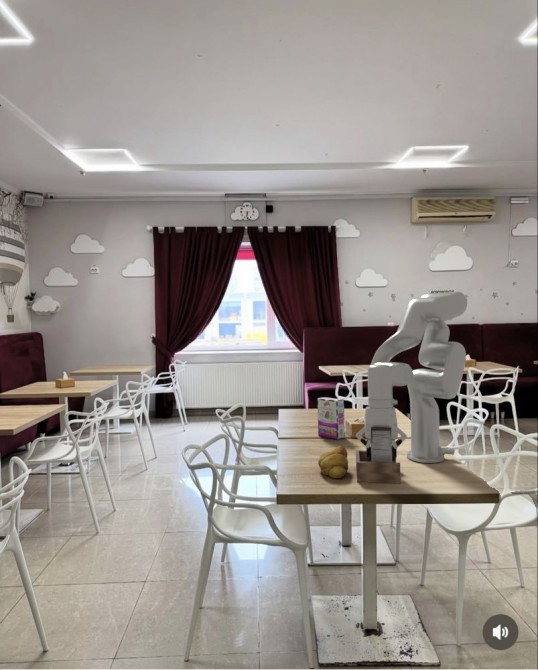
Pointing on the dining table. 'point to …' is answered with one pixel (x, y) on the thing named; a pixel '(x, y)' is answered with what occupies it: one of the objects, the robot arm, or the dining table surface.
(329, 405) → the candy bar box
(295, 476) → the dining table surface
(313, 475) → the dining table surface
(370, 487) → the dining table surface
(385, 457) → the coffee box
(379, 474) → the open side box
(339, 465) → the bread roll
